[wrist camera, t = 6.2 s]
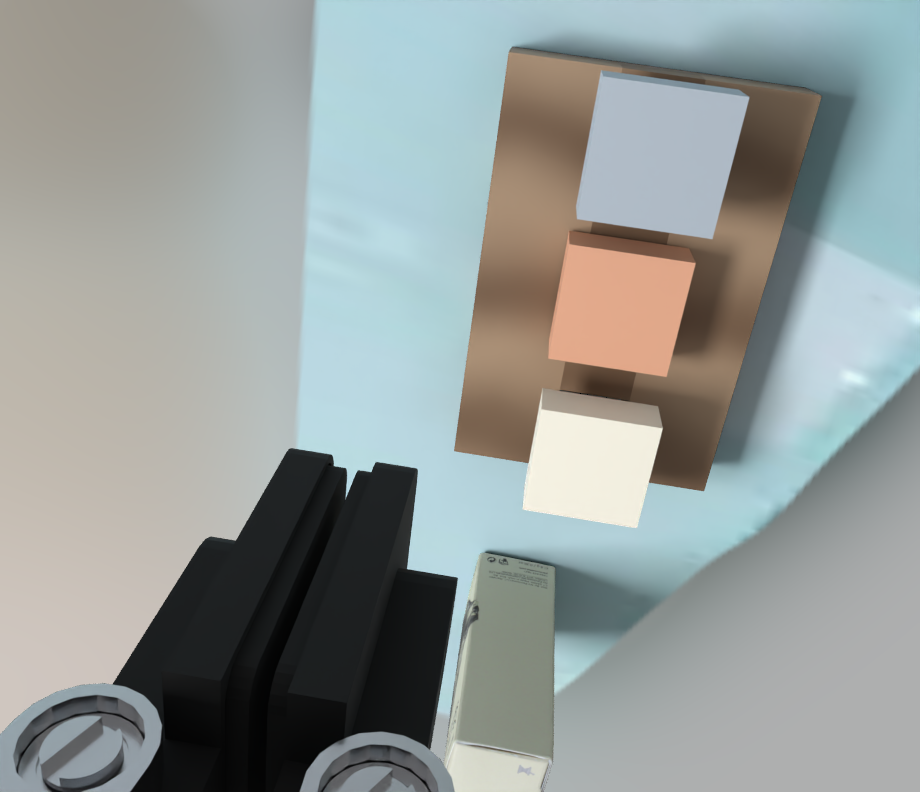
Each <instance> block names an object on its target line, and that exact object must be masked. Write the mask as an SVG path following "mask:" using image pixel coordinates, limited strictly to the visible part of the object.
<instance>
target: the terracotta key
mask: <svg viewBox="0 0 920 792" xmlns="http://www.w3.org/2000/svg"><path fill="white" fill-rule="evenodd" d="M695 264H696V263H695V260H694V258H693V256H692V254H691V251H690V249H689V248H683V247H676V246H670V245H663V244H656V243H649V242H643V241H636V240H629V239H623V238H616V237H609V236H602V235H596V234H589V233H582V232H576V231H569V234H568V239H567V245H566V250H565V256H564V261H563V266H562V272H561V277H560V283H559V288H558V294H557V299H556V305H555V310H554V316H553V321H552V327H551V332H550V338H549V352H548V359H554V360H561V361H567V362H573V363H580V364H586V365H593V366H599V367H606V368H612V369H619V370H625V371H631V372H638V373H644V374H651V375H657V376H664V377H667V373H668V369H669V366H670V362H671V358H672V354H673V350H674V346H675V342H676V338H677V334H678V330H679V327H680V323H681V319H682V315H683V311H684V307H685V303H686V299H687V295H688V291H689V287H690V284H691V280H692V276H693V272H694V268H695Z"/></svg>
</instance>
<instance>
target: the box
mask: <svg viewBox="0 0 920 792" xmlns="http://www.w3.org/2000/svg"><path fill="white" fill-rule="evenodd" d="M555 572H556V571H555V567H553V566H548V565H543V564H539V563H534V562H529V561H524V560H520V559H514V558H509V557H504V556H499V555H493V554H488V553H481V554H480V555H479V557H478V561H477V564H476V568H475V572H474V575H473V579H472V583H471V587H470V591H469V595H468V600H467V605H466V610H465V615H464V621H463V627H462V634H461V641H460V649H459V654H458V662H457V669H456V677H455V683H454V691H453V697H452V705H451V711H450V720H449V727H448V734H447V743H446V751H445V758H444V766H445V768H446V769H447V771H448V772H449V774H450V776H451V777H452V781H453V786H454V791H455V792H544V788H545V786H546V783H547V780H548V776H549V773H550V769H551V766H552V763H553V745H554V622H555Z"/></svg>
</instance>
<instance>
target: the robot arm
mask: <svg viewBox="0 0 920 792" xmlns="http://www.w3.org/2000/svg"><path fill="white" fill-rule="evenodd" d="M417 474H418V470H417V469H416V468H410V467H404V466H398V465H392V464H386V463H379V462H376V463H375V465H374V467H373V470H372V472H366V471H360V470H359V471H357V473H356V475H355V478H354V480H353V483H352V485H351V487H350V490H349V492H348V495H347V497H346V483H347V470H346V468H341V467H335V466H334V461H333V456H332V455H330V454H324V453H317V452H311V451H305V450H299V449H293V448H291V449H289V450H288V451H287V453H286V454H285V456H284V458H283V460H282V461H281V463H280V465H279V467H278V469H277V470H276V472H275V473H274V476H273V477H272V479H271V480H270V482H269V484H268V486H267V488H266V489H265V491H264V493H263V494H262V496H261V498H260V500H259V501H258V503H257V505H256V507H255V508H254V510H253V512H252V514H251V516H250V517H249V519H248V521H247V522H246V524H245V526H244V528H243V529H242V531H241V533H240V535H239V536H238V538H237V540H236V541H234V540H228V539H222V538H216V537H209V538H207V539H205V540H204V541H203V543H202V544H201V545H200V546H199V548H198V549H197V551H196V553H195V554H194V556H193V557H192V559H191V561H190V562H189V564H188V565H187V567H186V569H185V570H184V572H183V573H182V575H181V576H180V578H179V580H178V581H177V583H176V585H175V586H174V588H173V589H172V591H171V592H170V594H169V595H168V597H167V599H166V600H165V602H164V603H163V605H162V607H161V608H160V610H159V611H158V613H157V615H156V616H155V618H154V619H153V621H152V622H151V624H150V626H149V627H148V629H147V630H146V632H145V634H144V635H143V637H142V639H141V640H140V642H139V643H138V645H137V646H136V648H135V650H134V651H133V653H132V654H131V656H130V657H129V659H128V661H127V662H126V664H125V665H124V667H123V668H122V670H121V672H120V673H119V675H118V676H117V678H116V680H115V681H114V683H113V684H105V683H102V684H88V685H79V686H75V687H72V688H68V689H65V690H61V691H58V692H55V693H53V694H51V695H49V696H47V697H45V698H43V699H41V700H40V701H38V702H36V703H34V704H33V705H31V706H30V707H29V708H28V709H26V710H25V711H24V712H23V713H22V714H20V715H19V716H18V717H17V718H15V719H14V720H13V721H12V722H11V723H10V724H9V725H8V727H7V728H6V729H5V730H4V731H3V732H2V733H1V734H0V792H455V791H454V786H453V781H452V777H451V776H450V774H449V772H448V771H447V769H446V768H445V766H444V764H443V763H442V761H441V759H439V758H438V757H437V756H436V755H435V754H434V753H433V752H431V751H430V748H431V742H432V736H433V730H434V725H435V719H436V713H437V707H438V701H439V695H440V690H441V684H442V678H443V672H444V665H445V659H446V653H447V647H448V640H449V634H450V628H451V621H452V614H453V608H454V601H455V595H456V588H457V581H458V578H456V577H450V576H444V575H438V574H432V573H426V572H420V571H414V570H408V569H407V563H408V554H409V546H410V537H411V528H412V520H413V511H414V503H415V494H416V485H417ZM345 497H346V500H345Z"/></svg>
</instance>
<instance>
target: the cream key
mask: <svg viewBox="0 0 920 792" xmlns="http://www.w3.org/2000/svg"><path fill="white" fill-rule="evenodd" d="M662 430H663V427H662V422H661V418H660V413H659V408H658V406H653V405H647V404H641V403H634V402H628V401H622V400H615V399H609V398H602V397H596V396H590V395H583V394H577V393H570V392H564V391H558V390H551V389H545V388H542V394H541V399H540V405H539V410H538V415H537V421H536V426H535V432H534V437H533V443H532V448H531V453H530V459H529V464H528V470H527V475H526V481H525V487H524V500H523V510H529V511H535V512H541V513H547V514H553V515H559V516H565V517H572V518H578V519H584V520H590V521H596V522H602V523H608V524H615V525H621V526H627V527H633V528H637V525H638V521H639V518H640V514H641V510H642V506H643V502H644V498H645V495H646V491H647V487H648V483H649V479H650V476H651V472H652V468H653V464H654V460H655V456H656V453H657V449H658V445H659V441H660V437H661V434H662Z"/></svg>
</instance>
